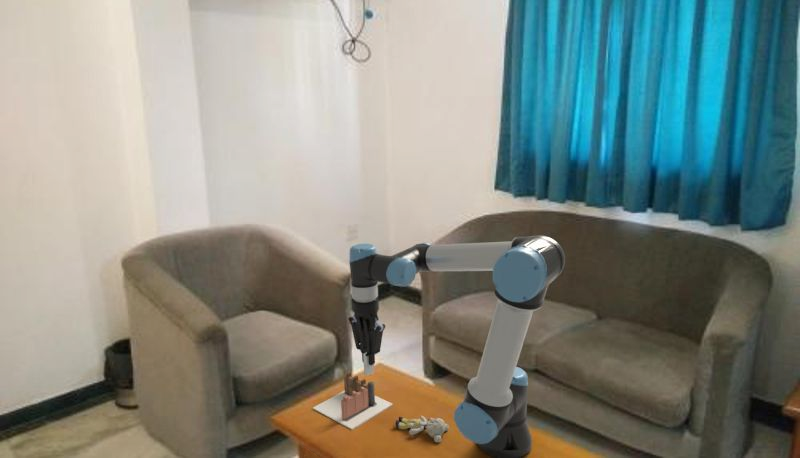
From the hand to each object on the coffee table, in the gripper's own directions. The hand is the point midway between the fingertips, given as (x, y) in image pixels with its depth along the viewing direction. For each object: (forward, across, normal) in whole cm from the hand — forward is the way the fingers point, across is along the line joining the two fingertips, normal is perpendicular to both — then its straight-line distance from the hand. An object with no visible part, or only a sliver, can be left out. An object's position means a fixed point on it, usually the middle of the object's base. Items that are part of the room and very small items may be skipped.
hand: (369, 373), depth 173 cm
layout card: (+17, +12, -3) cm, 21 cm away
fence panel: (+16, +8, -1) cm, 18 cm away
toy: (+18, -13, -7) cm, 23 cm away
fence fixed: (+17, +13, -8) cm, 23 cm away
